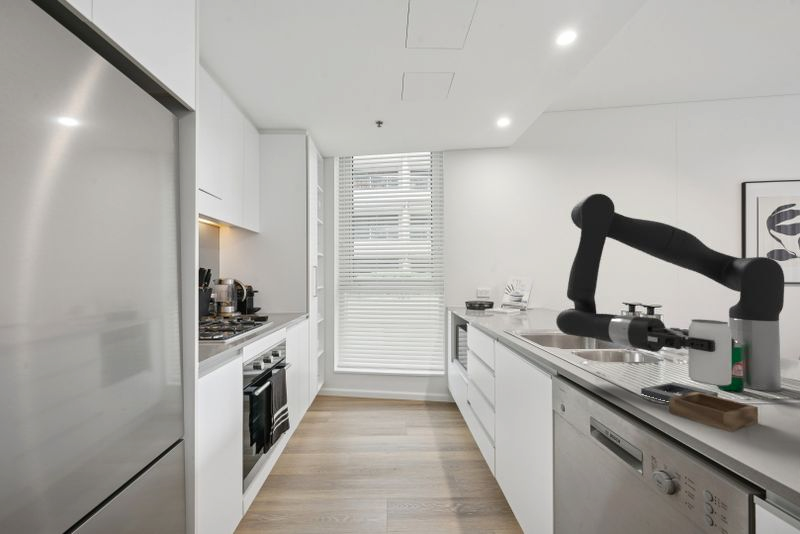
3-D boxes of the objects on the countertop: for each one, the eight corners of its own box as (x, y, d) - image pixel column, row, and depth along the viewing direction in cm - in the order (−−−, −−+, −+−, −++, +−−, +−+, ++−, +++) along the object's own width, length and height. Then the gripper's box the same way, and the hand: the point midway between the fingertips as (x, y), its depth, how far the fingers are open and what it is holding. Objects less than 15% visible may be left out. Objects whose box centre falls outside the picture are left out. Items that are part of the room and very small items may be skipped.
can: (740, 387, 67) (740, 324, 67) (700, 384, 68) (700, 322, 68) (717, 378, 73) (717, 319, 73) (681, 375, 74) (681, 318, 75)
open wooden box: (696, 405, 77) (696, 391, 77) (758, 422, 68) (757, 406, 68) (669, 412, 73) (668, 397, 73) (730, 431, 64) (730, 414, 64)
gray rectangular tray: (673, 388, 89) (673, 382, 89) (717, 399, 81) (717, 392, 81) (641, 395, 84) (641, 388, 84) (684, 408, 75) (684, 400, 76)
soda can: (737, 394, 85) (736, 343, 85) (711, 388, 90) (710, 340, 90) (748, 391, 87) (747, 342, 87) (722, 385, 92) (721, 339, 92)
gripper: (616, 317, 81) (703, 327, 66) (654, 315, 87) (743, 324, 72) (616, 350, 81) (703, 368, 66) (654, 346, 87) (743, 361, 72)
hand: (723, 345), depth 69 cm, fingers closed on can, 6 cm apart
